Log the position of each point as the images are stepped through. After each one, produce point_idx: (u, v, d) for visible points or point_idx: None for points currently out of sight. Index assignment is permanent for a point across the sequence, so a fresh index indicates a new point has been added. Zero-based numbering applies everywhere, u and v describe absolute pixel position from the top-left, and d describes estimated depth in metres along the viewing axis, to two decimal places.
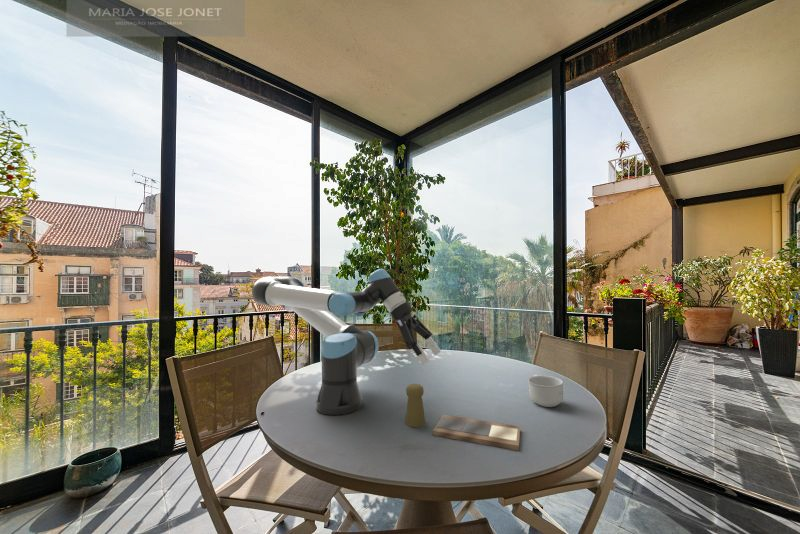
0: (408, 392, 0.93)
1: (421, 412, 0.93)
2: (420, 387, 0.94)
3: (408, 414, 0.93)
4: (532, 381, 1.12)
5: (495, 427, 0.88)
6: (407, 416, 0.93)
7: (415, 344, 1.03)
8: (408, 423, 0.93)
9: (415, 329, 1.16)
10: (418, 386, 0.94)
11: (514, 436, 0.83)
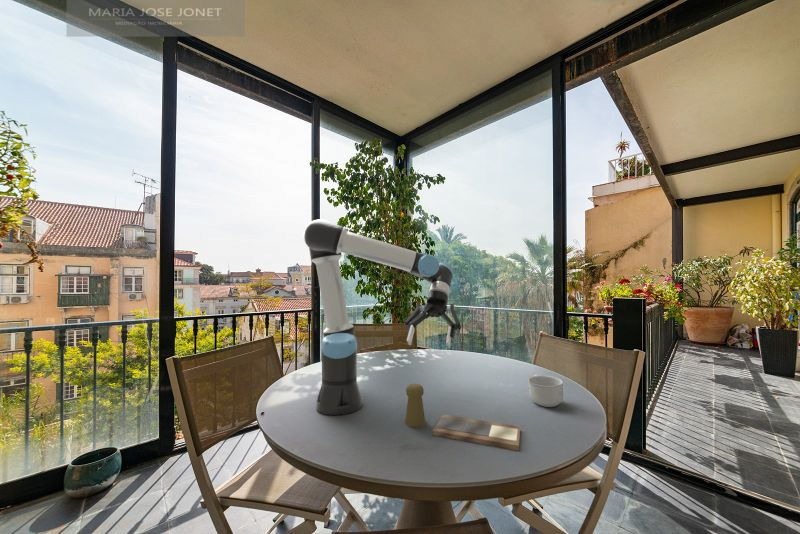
0: (408, 392, 0.93)
1: (421, 412, 0.93)
2: (420, 387, 0.94)
3: (408, 414, 0.93)
4: (532, 381, 1.12)
5: (495, 427, 0.88)
6: (407, 416, 0.93)
7: (455, 329, 1.08)
8: (408, 423, 0.93)
9: (424, 315, 1.15)
10: (418, 386, 0.94)
11: (514, 436, 0.83)
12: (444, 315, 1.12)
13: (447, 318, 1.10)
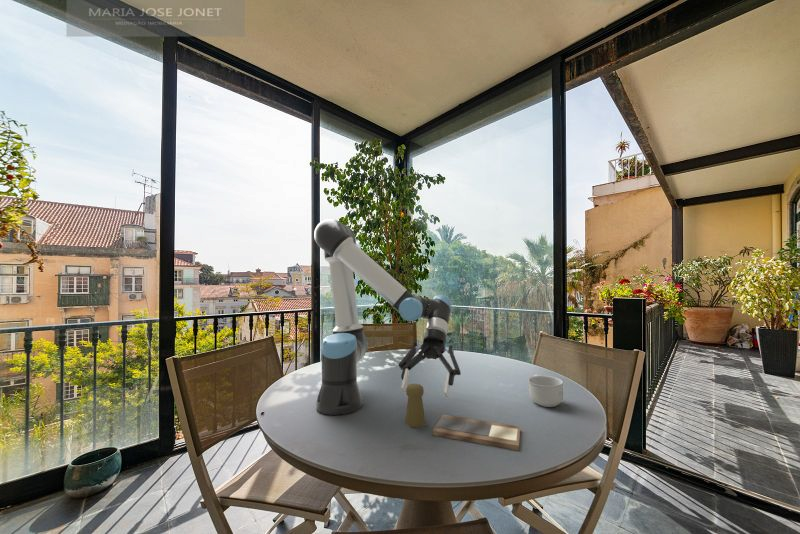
0: (408, 392, 0.93)
1: (421, 412, 0.93)
2: (420, 387, 0.94)
3: (408, 414, 0.93)
4: (532, 381, 1.12)
5: (495, 427, 0.88)
6: (407, 416, 0.93)
7: (453, 375, 1.00)
8: (408, 423, 0.93)
9: (420, 356, 1.06)
10: (418, 386, 0.94)
11: (514, 436, 0.83)
12: (442, 358, 1.03)
13: (445, 362, 1.01)
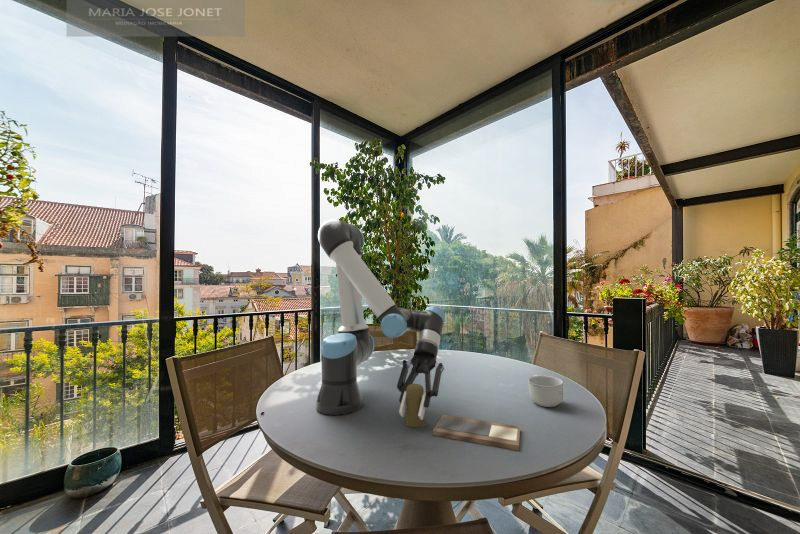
0: (408, 392, 0.93)
1: None
2: (420, 387, 0.94)
3: (408, 414, 0.93)
4: (532, 381, 1.12)
5: (495, 427, 0.88)
6: (407, 416, 0.93)
7: None
8: (408, 423, 0.93)
9: (415, 373, 1.00)
10: (418, 386, 0.94)
11: (514, 436, 0.83)
12: (426, 375, 0.98)
13: (427, 381, 0.97)
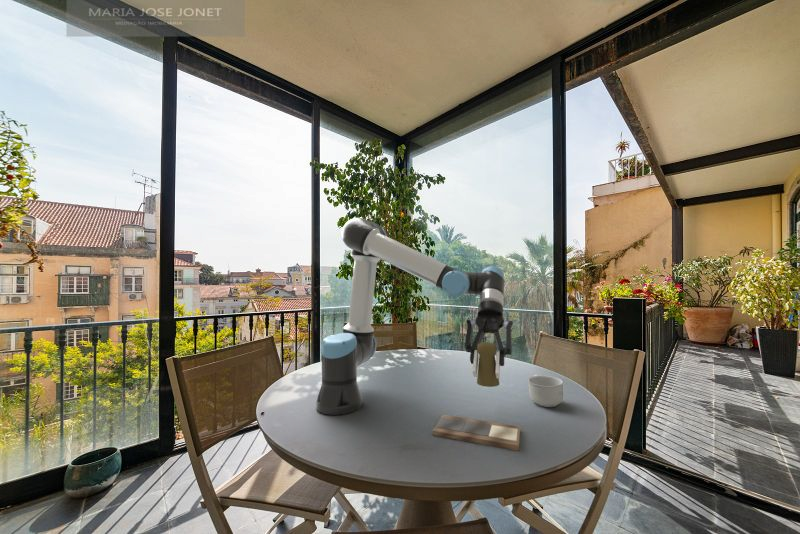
0: (481, 350, 0.86)
1: None
2: (493, 344, 0.87)
3: (481, 373, 0.86)
4: (532, 381, 1.12)
5: (495, 427, 0.88)
6: (480, 376, 0.86)
7: None
8: (482, 383, 0.85)
9: (482, 332, 0.93)
10: (491, 343, 0.87)
11: (514, 436, 0.83)
12: (496, 333, 0.91)
13: (498, 339, 0.89)
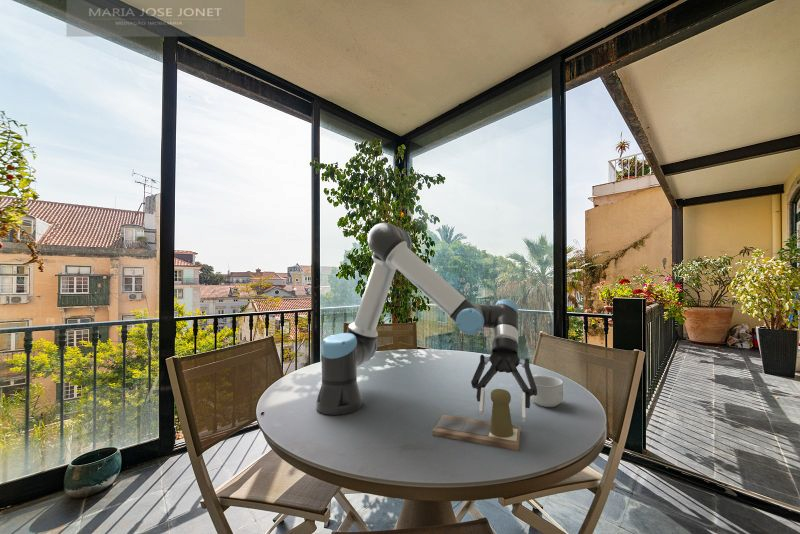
0: (495, 398, 0.84)
1: (510, 420, 0.84)
2: (508, 393, 0.85)
3: (495, 423, 0.84)
4: None
5: None
6: (494, 425, 0.84)
7: None
8: (495, 433, 0.83)
9: (493, 371, 0.91)
10: (505, 392, 0.85)
11: (514, 436, 0.83)
12: (516, 373, 0.88)
13: (520, 379, 0.87)
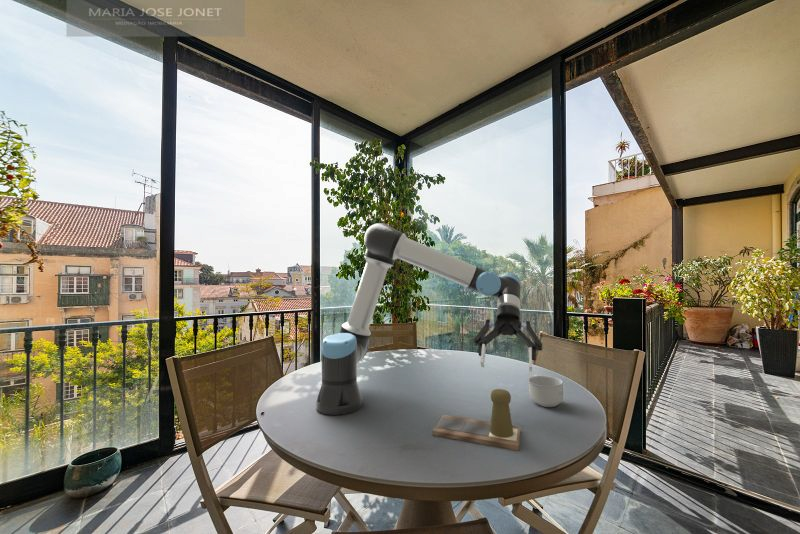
0: (495, 398, 0.84)
1: (510, 420, 0.84)
2: (508, 393, 0.85)
3: (495, 423, 0.84)
4: (532, 381, 1.12)
5: None
6: (494, 425, 0.84)
7: None
8: (495, 433, 0.83)
9: (496, 332, 1.03)
10: (505, 392, 0.85)
11: (514, 436, 0.83)
12: (521, 334, 0.99)
13: (525, 337, 0.98)
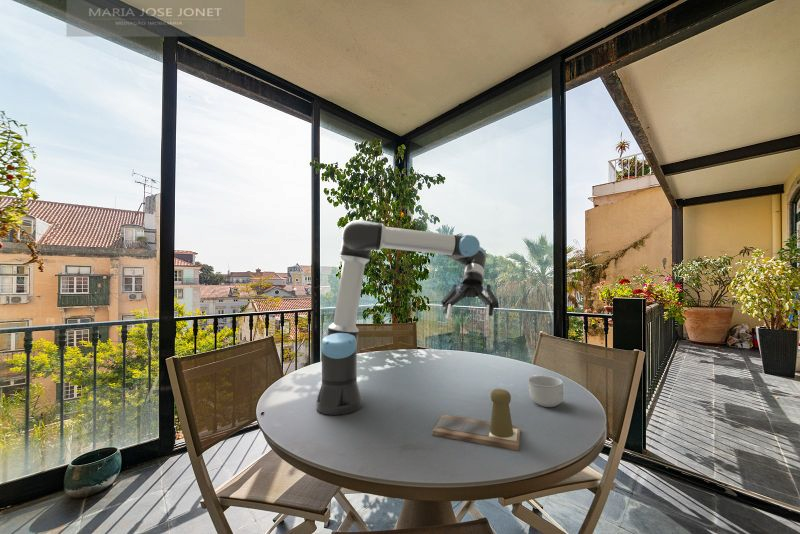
0: (495, 398, 0.84)
1: (510, 420, 0.84)
2: (508, 393, 0.85)
3: (495, 423, 0.84)
4: (532, 381, 1.12)
5: None
6: (494, 425, 0.84)
7: (492, 308, 1.12)
8: (495, 433, 0.83)
9: (461, 295, 1.18)
10: (505, 392, 0.85)
11: (514, 436, 0.83)
12: (481, 295, 1.15)
13: (485, 297, 1.14)
